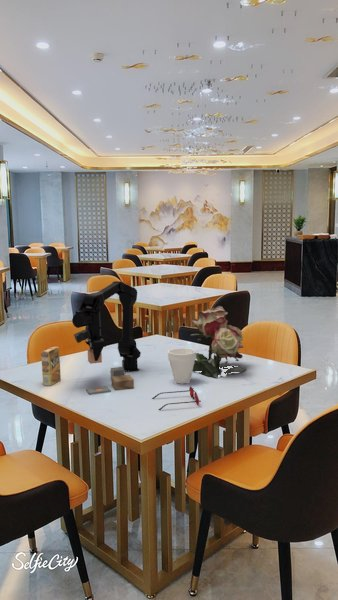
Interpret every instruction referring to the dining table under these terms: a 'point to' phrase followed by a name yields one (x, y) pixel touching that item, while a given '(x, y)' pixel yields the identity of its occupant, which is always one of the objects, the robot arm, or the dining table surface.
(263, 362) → the dining table surface
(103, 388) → the card
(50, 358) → the candy box
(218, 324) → the rose bouquet
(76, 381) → the dining table surface
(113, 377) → the walnut block
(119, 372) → the charcoal block
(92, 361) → the terracotta block
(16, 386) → the dining table surface
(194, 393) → the glasses
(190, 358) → the cup
